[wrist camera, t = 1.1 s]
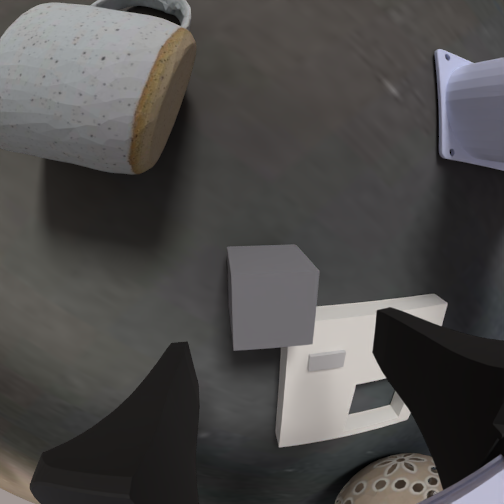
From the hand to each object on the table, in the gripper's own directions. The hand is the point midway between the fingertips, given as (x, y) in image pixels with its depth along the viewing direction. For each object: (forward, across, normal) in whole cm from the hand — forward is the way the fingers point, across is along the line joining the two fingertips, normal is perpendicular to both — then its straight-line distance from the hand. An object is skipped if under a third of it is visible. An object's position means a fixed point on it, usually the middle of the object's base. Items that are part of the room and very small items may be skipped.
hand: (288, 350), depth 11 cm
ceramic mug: (+8, +7, -13) cm, 16 cm away
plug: (+8, 0, 0) cm, 8 cm away
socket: (+8, -7, +9) cm, 14 cm away
